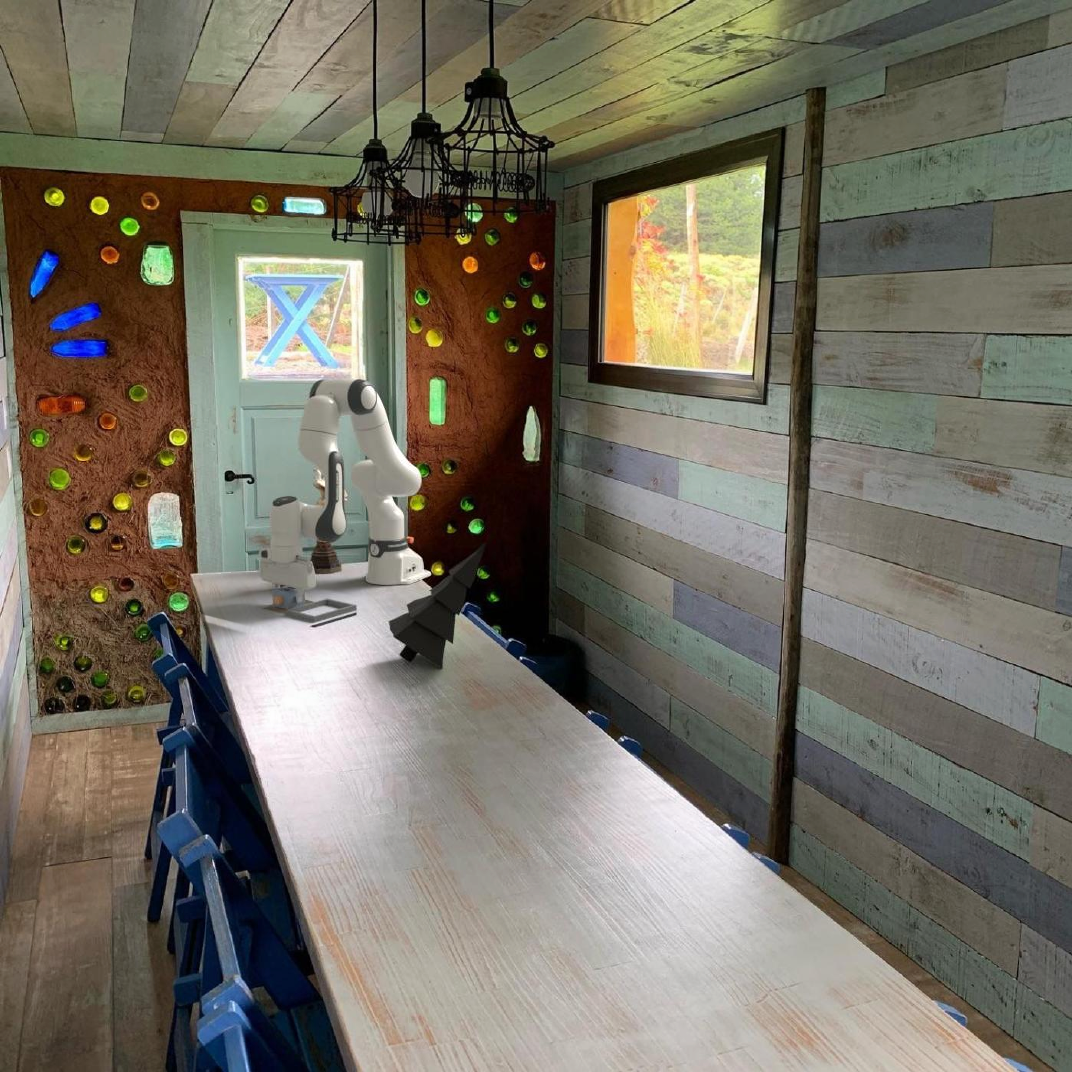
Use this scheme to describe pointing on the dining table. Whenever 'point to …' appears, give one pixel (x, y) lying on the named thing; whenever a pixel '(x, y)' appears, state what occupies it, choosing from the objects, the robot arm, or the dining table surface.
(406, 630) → the decorative tree
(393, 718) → the dining table surface
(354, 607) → the tray
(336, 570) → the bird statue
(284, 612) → the board
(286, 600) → the collar
